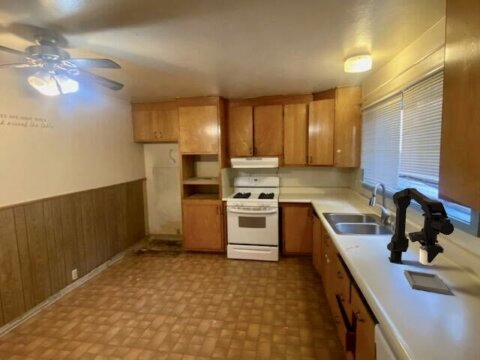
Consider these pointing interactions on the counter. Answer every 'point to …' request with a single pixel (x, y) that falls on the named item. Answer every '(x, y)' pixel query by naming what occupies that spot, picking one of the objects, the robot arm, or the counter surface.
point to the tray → (425, 282)
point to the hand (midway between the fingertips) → (426, 259)
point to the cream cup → (425, 257)
